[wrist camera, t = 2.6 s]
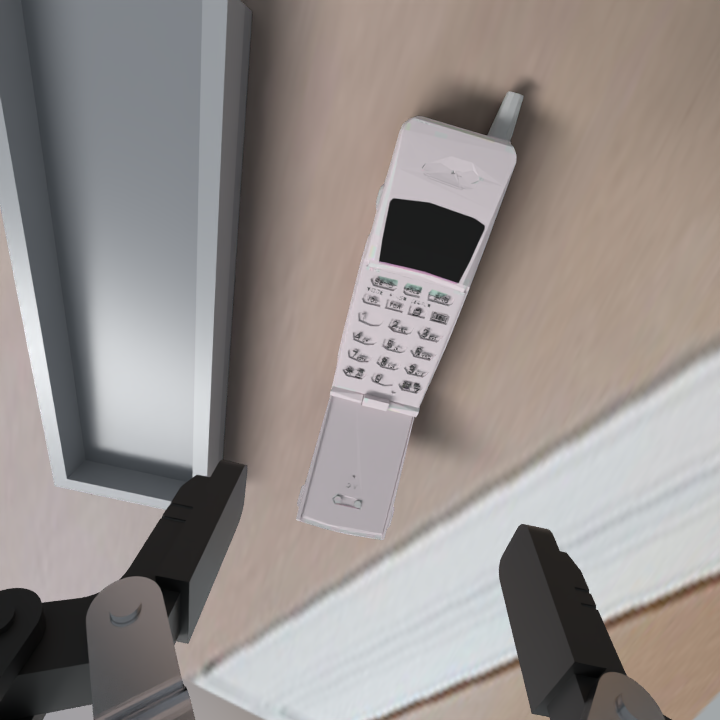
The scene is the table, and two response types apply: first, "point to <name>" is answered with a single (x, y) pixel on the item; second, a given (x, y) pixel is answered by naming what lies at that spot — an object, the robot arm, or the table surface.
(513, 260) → the table surface
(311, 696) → the table surface
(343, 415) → the mobile phone
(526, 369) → the table surface
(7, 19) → the phone dock
